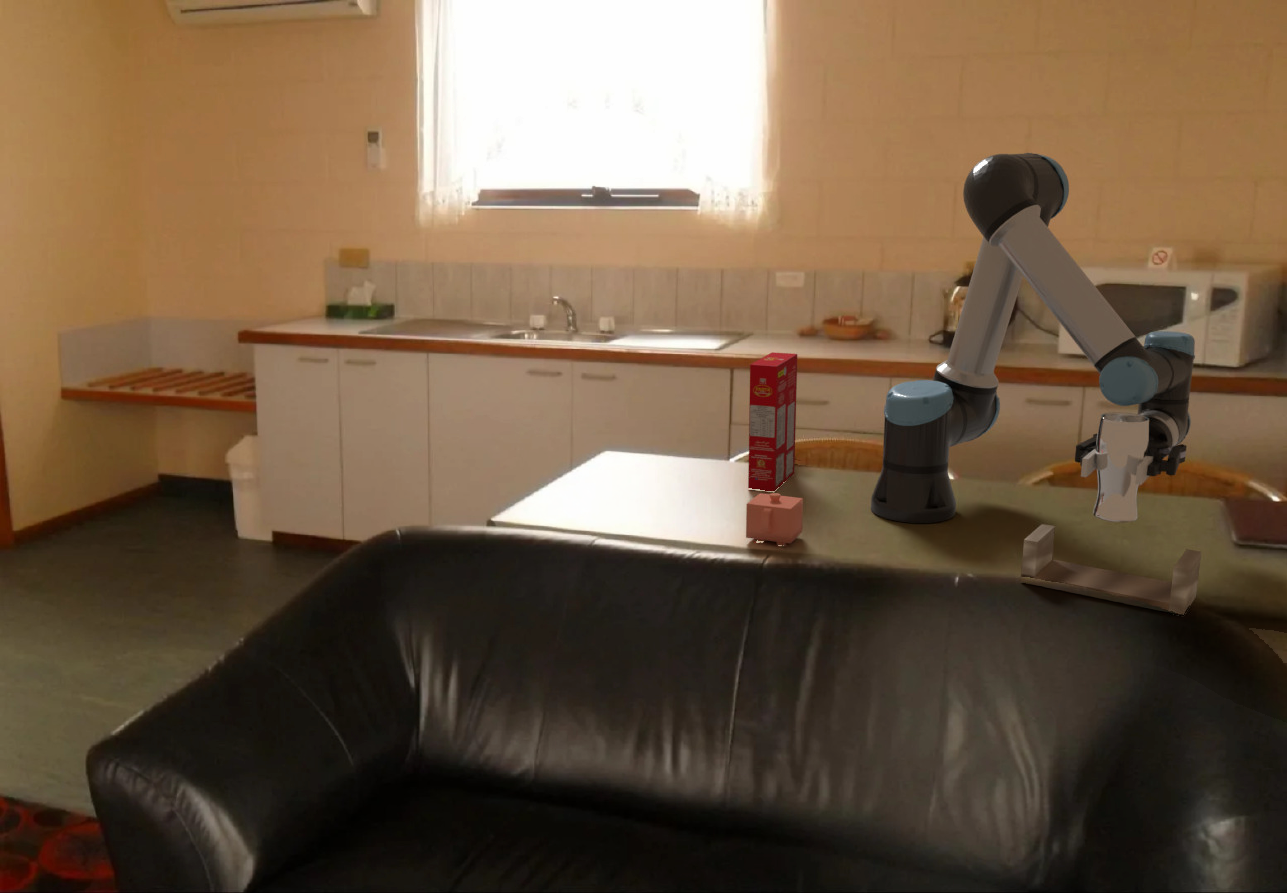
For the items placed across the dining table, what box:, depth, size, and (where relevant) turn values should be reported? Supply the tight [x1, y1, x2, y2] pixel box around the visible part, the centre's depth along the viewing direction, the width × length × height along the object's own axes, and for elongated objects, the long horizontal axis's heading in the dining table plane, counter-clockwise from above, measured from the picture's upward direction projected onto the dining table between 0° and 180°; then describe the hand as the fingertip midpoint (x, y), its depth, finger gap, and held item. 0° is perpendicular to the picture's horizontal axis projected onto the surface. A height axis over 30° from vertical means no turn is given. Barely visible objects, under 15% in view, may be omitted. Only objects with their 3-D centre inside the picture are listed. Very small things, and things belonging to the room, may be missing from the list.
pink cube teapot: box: [745, 492, 804, 546], centre depth 193 cm, size 8×12×8 cm, turn 155°
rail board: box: [1020, 523, 1202, 616], centre depth 170 cm, size 23×9×7 cm, turn 55°
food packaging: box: [747, 352, 798, 491], centre depth 225 cm, size 15×5×25 cm, turn 157°
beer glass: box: [1092, 411, 1149, 523], centre depth 166 cm, size 7×7×15 cm
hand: (1111, 471), depth 162 cm, fingers closed on beer glass, 7 cm apart
